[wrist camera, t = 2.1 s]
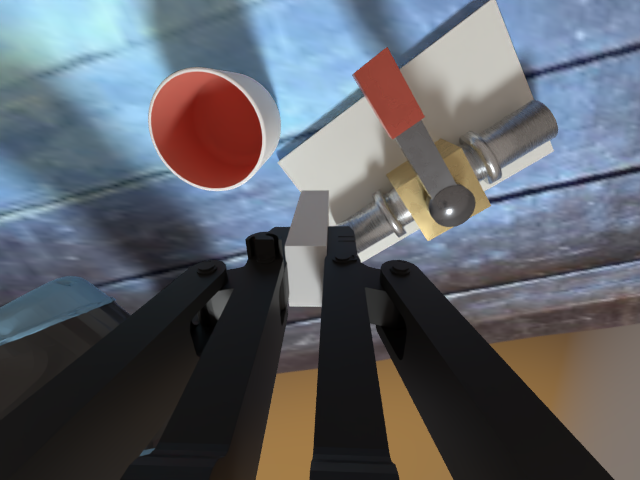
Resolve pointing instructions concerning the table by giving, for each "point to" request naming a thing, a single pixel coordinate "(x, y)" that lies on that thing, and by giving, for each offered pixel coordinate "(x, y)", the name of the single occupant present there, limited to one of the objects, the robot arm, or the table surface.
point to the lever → (413, 138)
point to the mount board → (440, 119)
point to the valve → (453, 174)
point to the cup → (213, 126)
